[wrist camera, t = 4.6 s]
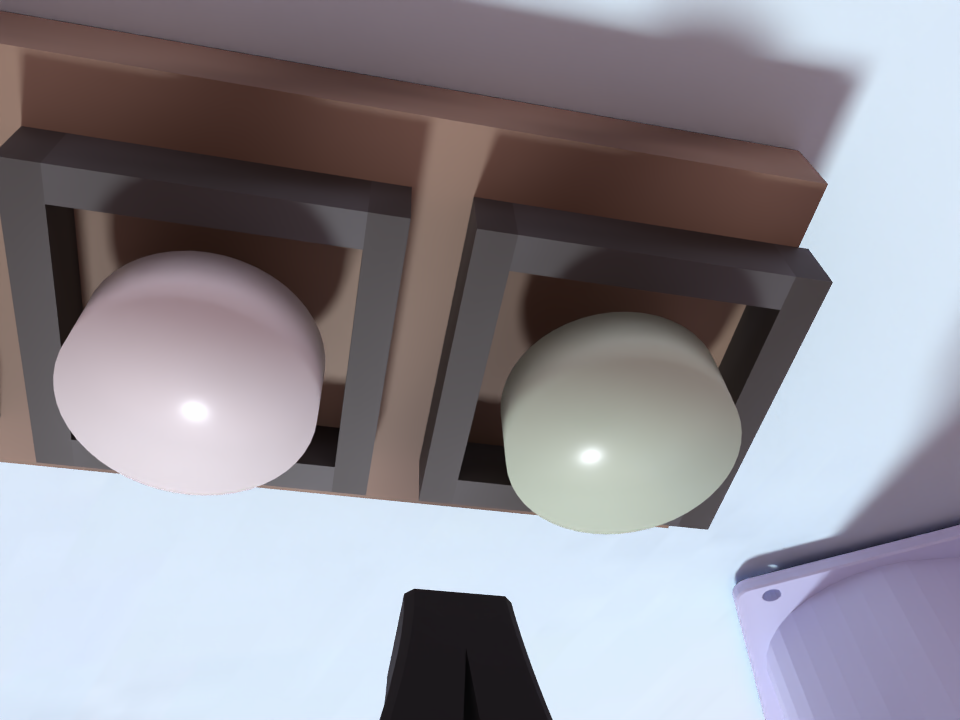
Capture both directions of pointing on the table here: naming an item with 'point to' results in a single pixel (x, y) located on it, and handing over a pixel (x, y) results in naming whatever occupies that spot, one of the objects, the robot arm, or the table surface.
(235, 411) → the pale pink button
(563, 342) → the sage button
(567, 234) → the button panel
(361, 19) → the table surface
